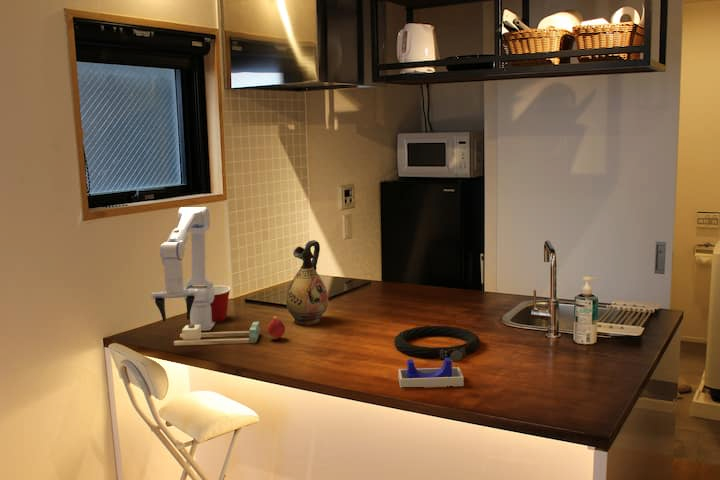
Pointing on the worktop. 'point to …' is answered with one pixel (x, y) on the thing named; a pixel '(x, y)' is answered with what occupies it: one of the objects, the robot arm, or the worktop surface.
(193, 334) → the block
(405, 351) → the cable lock
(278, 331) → the onion
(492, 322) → the worktop surface
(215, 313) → the plastic cup
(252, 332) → the guide rail
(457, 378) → the shallow grey tray
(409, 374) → the blue saddle holder
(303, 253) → the ceramic jug
